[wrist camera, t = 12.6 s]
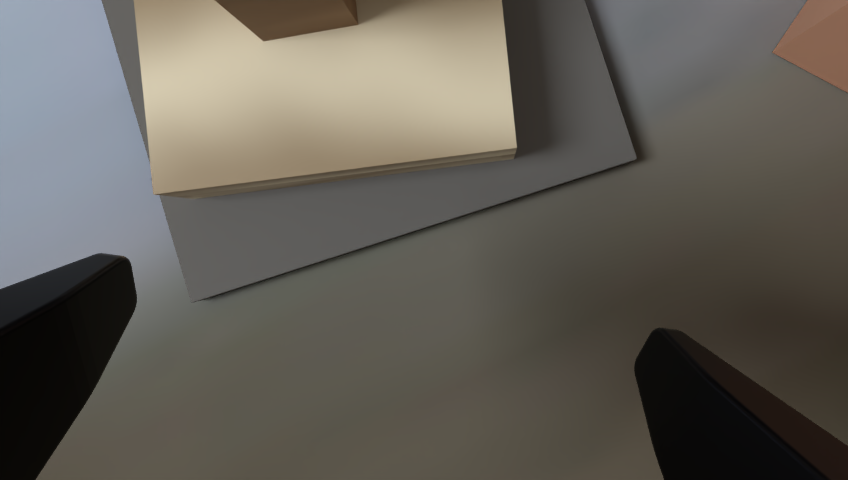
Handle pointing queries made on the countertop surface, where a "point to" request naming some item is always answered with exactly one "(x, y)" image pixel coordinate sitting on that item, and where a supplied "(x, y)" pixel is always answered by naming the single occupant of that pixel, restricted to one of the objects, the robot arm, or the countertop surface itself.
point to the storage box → (819, 41)
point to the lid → (319, 90)
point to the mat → (412, 191)
